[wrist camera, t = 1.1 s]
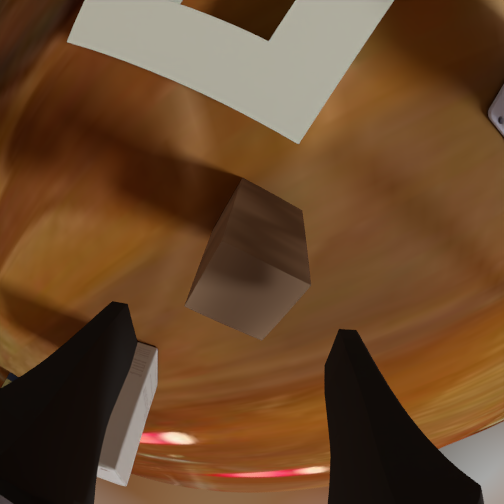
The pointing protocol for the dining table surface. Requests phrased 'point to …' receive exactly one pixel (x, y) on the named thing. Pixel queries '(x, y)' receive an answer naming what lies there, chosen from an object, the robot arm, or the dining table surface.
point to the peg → (252, 263)
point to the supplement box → (129, 417)
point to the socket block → (238, 52)
